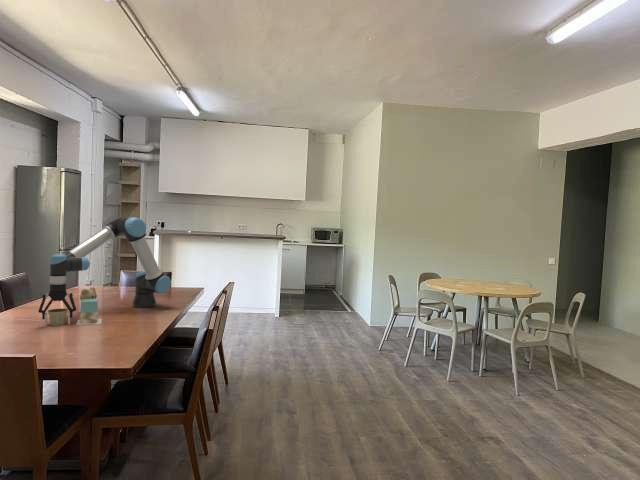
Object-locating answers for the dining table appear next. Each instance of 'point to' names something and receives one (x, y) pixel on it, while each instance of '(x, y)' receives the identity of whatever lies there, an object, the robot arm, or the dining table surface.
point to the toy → (88, 294)
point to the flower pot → (57, 316)
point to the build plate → (89, 323)
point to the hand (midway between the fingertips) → (57, 324)
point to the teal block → (89, 305)
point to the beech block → (89, 317)
